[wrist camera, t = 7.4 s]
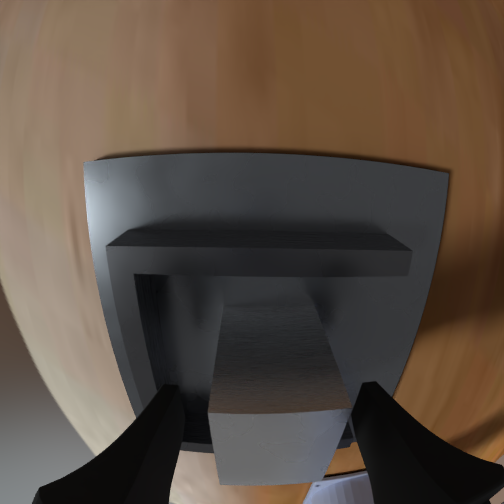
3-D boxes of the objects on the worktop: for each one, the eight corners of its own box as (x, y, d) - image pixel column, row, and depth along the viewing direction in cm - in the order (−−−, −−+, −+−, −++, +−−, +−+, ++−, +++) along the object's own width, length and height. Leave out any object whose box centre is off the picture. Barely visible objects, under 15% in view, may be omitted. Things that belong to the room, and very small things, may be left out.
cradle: (368, 431, 17) (378, 461, 15) (148, 432, 17) (139, 464, 14) (439, 171, 11) (479, 179, 9) (92, 161, 11) (54, 166, 8)
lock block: (303, 385, 14) (321, 480, 9) (227, 386, 14) (220, 484, 9) (314, 305, 13) (352, 407, 7) (223, 306, 13) (207, 412, 7)
